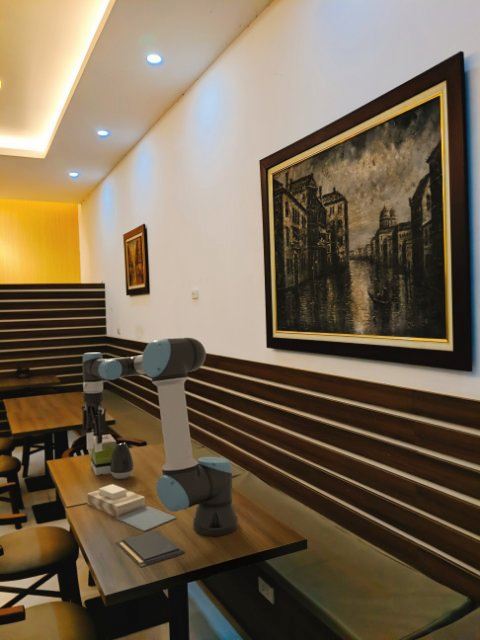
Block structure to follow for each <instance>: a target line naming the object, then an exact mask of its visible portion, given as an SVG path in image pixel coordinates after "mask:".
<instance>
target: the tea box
mask: <svg viewBox="0 0 480 640" xmlns="http://www.w3.org/2000/svg"><path fill="white" fill-rule="evenodd" d="M117 445H118V444H117V441H116V439H115V438H114V437H113V436H112V434H110V433H109V434H103V435H102V451H100V452H95V435H94V448H93V449H90V467H91V468H92V470H93V472H94V474H95V476H101V475H100V474H103V475H107V474H106V473H110V474H112V473H111V471H110V464H111V459H112V455H113V452H114V449H115V447H116V446H117Z"/></svg>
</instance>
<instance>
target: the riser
mask: <svg viewBox="0 0 480 640" xmlns="http://www.w3.org/2000/svg"><path fill="white" fill-rule="evenodd" d="M86 496H87V498H86V499H87V500H86V501H87V505H88V506H90V507H93V508H95V509H97V510H100V511H102V512H104V513H106V514H108V515H110V516H113V517H115V518H118V517H120V516H123V515H126V514H128V513H131V512H134V511H136V510H139V509H142V508H144V507H146V497H145V496H144V495H141V494H138V493H136V492H133V491H130V490H127V489H126V495H124V496H121V497H118V498H115V499H111V498H109V497H106V496H104V495H101V494H99V489H98V490H95V491H92V492H88V493H87V494H86Z"/></svg>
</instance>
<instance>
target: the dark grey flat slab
mask: <svg viewBox="0 0 480 640" xmlns="http://www.w3.org/2000/svg"><path fill="white" fill-rule="evenodd" d="M115 544H116V546H118V547H119V548H120V549H121V550H122V551H123V553H125V554H126V555H127V556H128V557H129V558H130V559H131V560H132V562H134V563H135V564H136V565H137V566H138V567H139V568H141V569H142V568H145V567H149V566H152V565H155V564H158V563H162V562H164V561H168V560H171V559H175V558H176V557H181V556H183V555H185V554H186V552H185V551H184V550H183V549H182V548H180V546H178V545H177V544H175V543H174V542H172V541H171V540H170V539H168V538H167V537H166V536H165V535H164V534H163V533H162V532H160V531H158V530H152V531H148V532H145V533H144V532H143V533H142V534H139V535H134V536H131V537H127V538H125V539H121V540H120V541H117V542H115Z"/></svg>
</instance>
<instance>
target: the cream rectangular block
mask: <svg viewBox="0 0 480 640" xmlns="http://www.w3.org/2000/svg"><path fill="white" fill-rule="evenodd" d="M98 490H99V494H101V495H104V496H106V497H109V498H111V499H115V498H118V497H121V496H124V495H126V490H127V489H126V488H124V487H121V486H118V485H116V484H113V483H112V484H109V485H105V486H103V487H99V489H98Z"/></svg>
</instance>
